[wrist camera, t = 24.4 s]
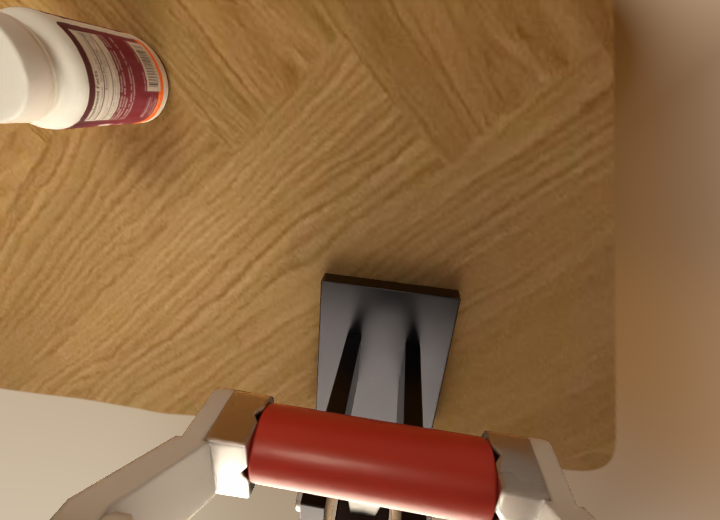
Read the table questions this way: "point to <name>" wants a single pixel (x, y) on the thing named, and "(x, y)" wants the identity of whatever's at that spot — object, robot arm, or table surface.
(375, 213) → the table surface
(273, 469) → the clamp lever
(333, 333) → the clamp
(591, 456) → the table surface
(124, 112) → the pill bottle
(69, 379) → the table surface
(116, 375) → the table surface
